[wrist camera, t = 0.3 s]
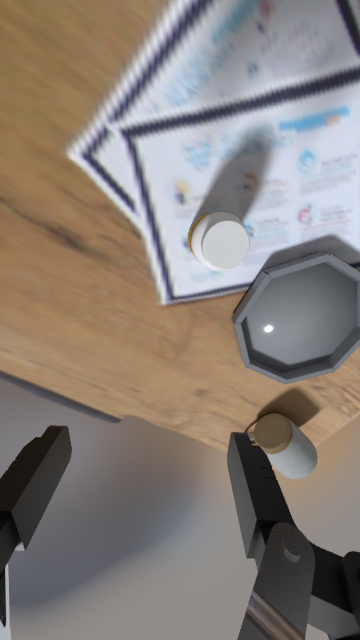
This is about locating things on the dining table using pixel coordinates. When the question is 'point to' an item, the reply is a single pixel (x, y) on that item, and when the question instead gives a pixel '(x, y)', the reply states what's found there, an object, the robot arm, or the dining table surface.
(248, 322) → the dish
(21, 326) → the dining table surface
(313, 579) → the robot arm
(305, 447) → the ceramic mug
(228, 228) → the supplement bottle
